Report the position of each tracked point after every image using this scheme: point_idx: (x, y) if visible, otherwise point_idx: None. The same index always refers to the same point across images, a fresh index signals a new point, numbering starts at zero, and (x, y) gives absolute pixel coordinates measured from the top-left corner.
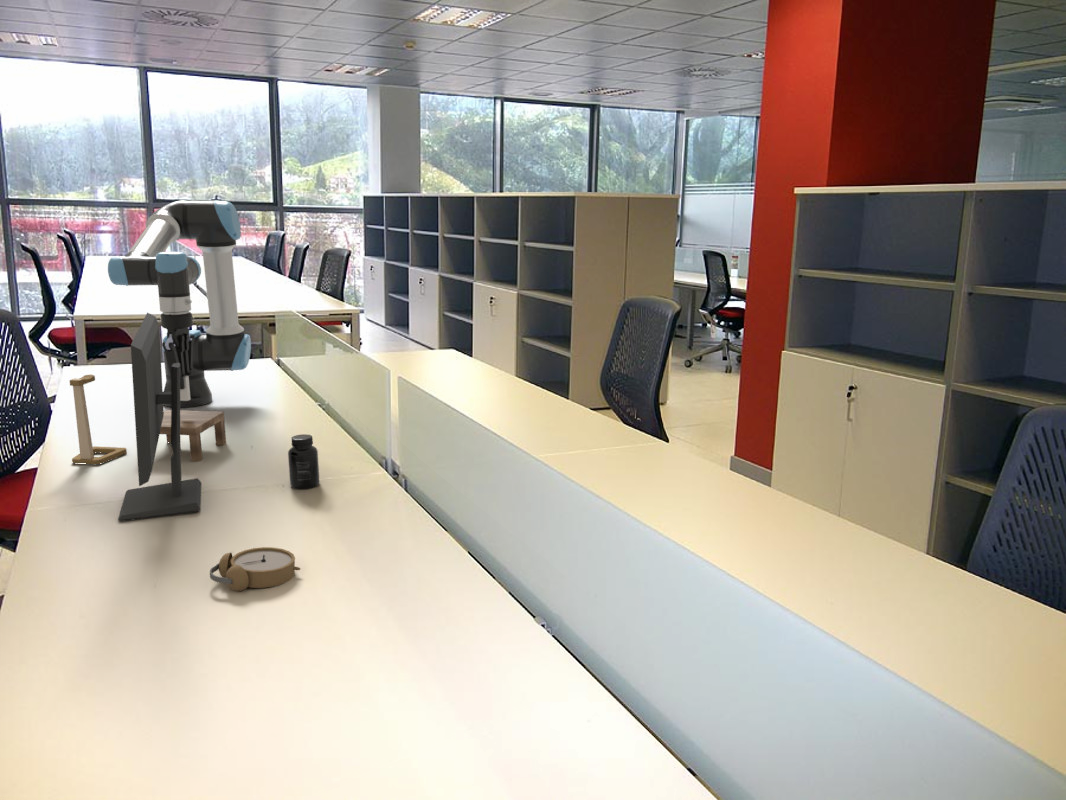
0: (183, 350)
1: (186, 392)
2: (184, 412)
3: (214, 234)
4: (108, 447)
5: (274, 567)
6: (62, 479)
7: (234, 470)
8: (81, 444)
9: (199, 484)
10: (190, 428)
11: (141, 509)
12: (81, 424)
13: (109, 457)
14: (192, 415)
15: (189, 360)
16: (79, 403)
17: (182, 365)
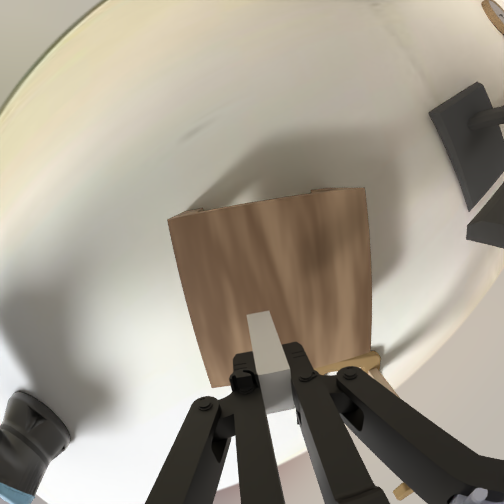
0: (361, 498)
1: (274, 329)
2: (218, 334)
3: None
4: None
5: (500, 10)
6: (429, 341)
7: (350, 89)
8: None
9: (443, 106)
10: (366, 204)
11: (501, 146)
12: None
13: (356, 356)
14: (242, 289)
15: (206, 452)
16: None
17: (331, 415)
